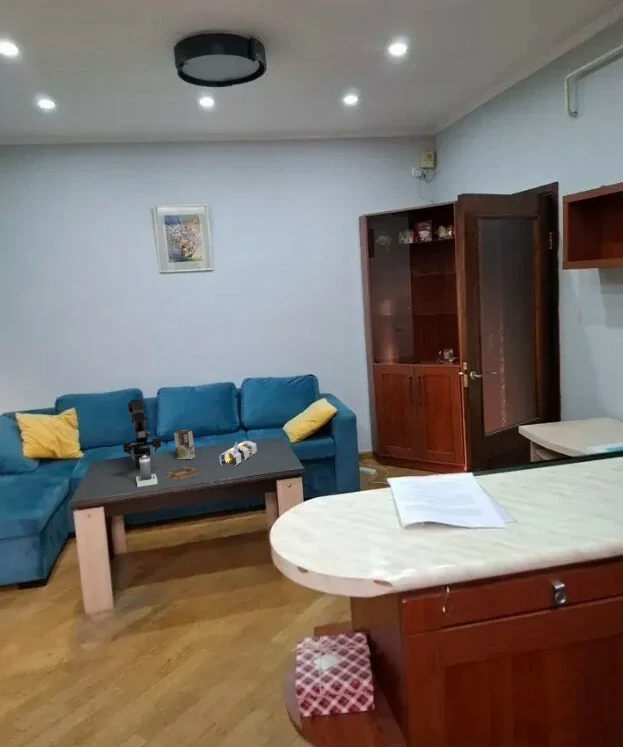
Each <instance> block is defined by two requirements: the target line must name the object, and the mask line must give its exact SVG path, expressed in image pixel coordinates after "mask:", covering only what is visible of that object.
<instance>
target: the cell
mask: <svg viewBox="0 0 623 747" xmlns="http://www.w3.org/2000/svg"><path fill="white" fill-rule="evenodd" d="M139 462H140V468H139V469H140V476H141V481H144V480H150V479H152V477H151V474H152V469H151V457H150V456H146V455H144V456H142V457H140V458H139Z"/></svg>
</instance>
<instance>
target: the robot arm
mask: <svg viewBox="0 0 623 747" xmlns="http://www.w3.org/2000/svg"><path fill="white" fill-rule="evenodd" d="M143 403H144V402H143V401H141V400H140V399H139V398H137V399H130V401H129V402H128V403H127V412H128V413H129V416H130V422H131V423H132V424H133V431H134V438H135V440H133V441H134V442H133V443H132V442H131V441H125V442H123V443H122V448H123V453H126V454H129V456H131V459H132V460H133V461H135V466H134V469H140V462H139V458H140V457H142V456H144V455H146V456H149V457H150V456H151V447H150V446H152V458H153V459H154V458H155V456H156V451H157V450H158V449H159V448H161V446H162V440H161V438H160V437H153V438H152V440H151V441H148V437H150V436H151V433H150V432H151V431H150V429H146V421H147V420H148V415H147V414H146V413H145V412H144V404H143Z"/></svg>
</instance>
